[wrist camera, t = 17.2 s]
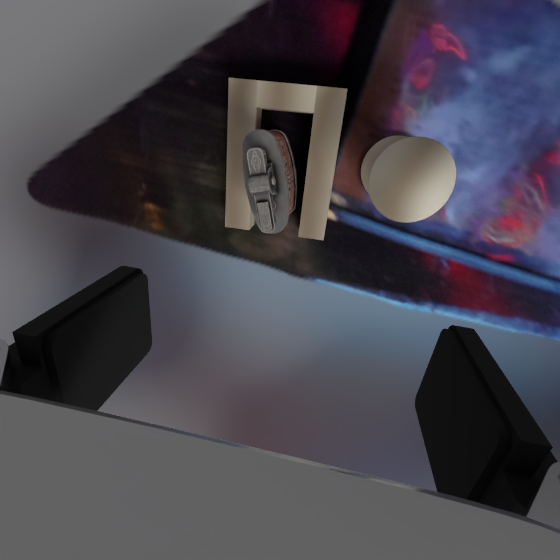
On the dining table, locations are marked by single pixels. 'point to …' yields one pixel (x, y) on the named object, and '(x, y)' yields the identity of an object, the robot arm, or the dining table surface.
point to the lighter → (269, 178)
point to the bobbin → (408, 177)
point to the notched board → (322, 152)
